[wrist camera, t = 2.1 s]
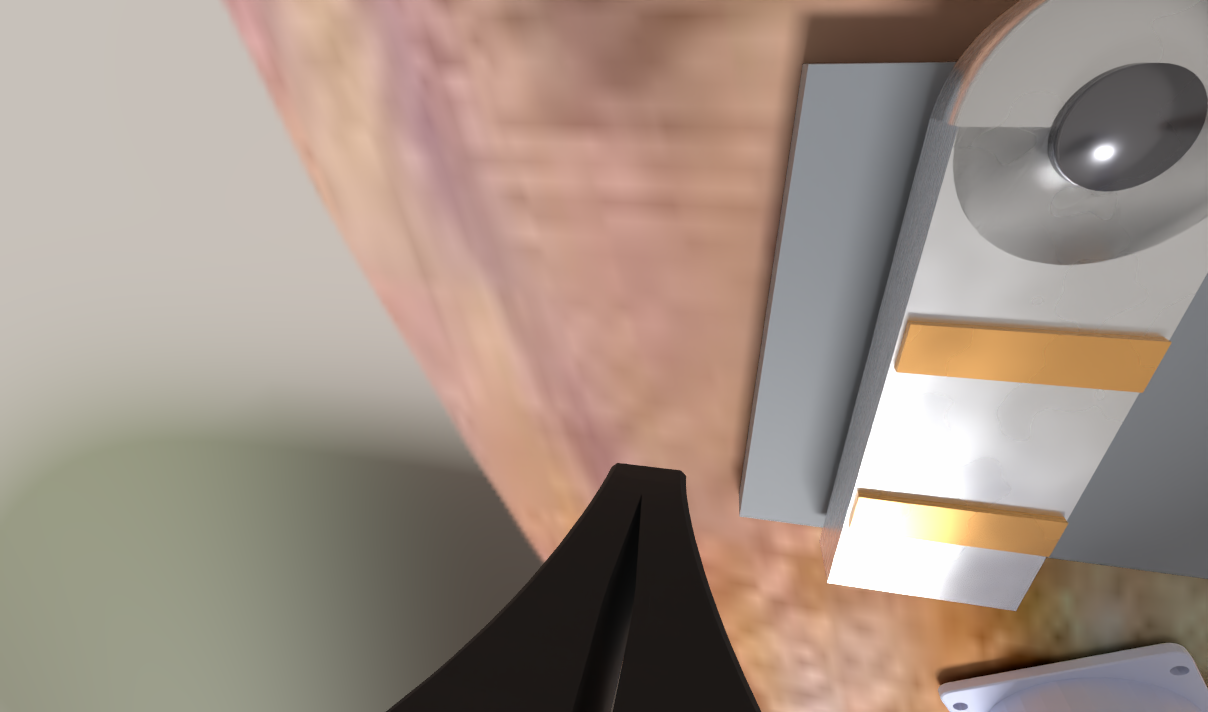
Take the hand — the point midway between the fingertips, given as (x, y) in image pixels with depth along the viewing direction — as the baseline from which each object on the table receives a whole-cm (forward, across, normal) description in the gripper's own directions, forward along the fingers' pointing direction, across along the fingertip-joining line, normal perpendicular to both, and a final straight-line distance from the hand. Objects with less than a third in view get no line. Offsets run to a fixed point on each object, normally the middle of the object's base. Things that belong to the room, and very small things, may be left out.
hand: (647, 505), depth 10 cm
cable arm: (+5, -8, -1) cm, 9 cm away
